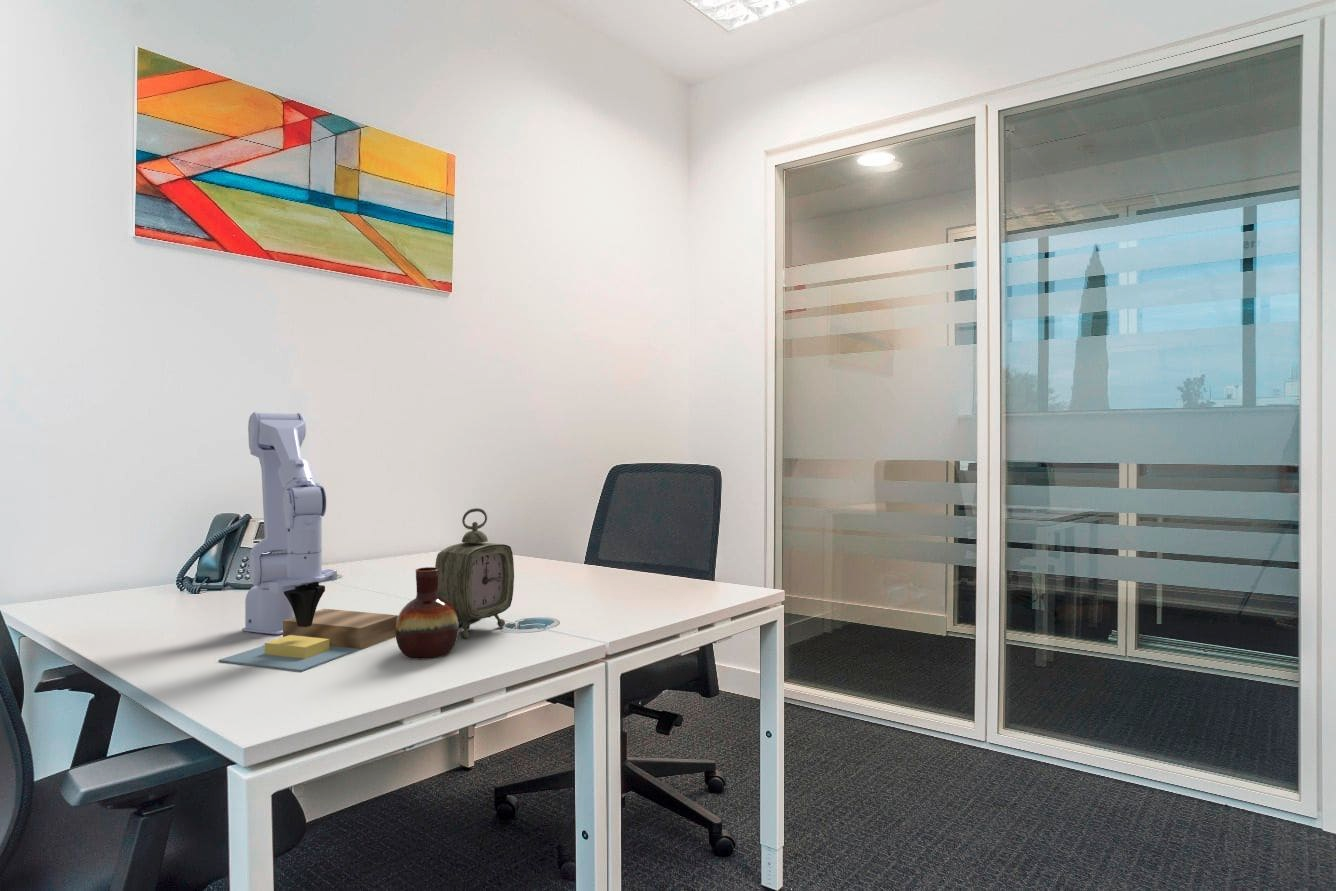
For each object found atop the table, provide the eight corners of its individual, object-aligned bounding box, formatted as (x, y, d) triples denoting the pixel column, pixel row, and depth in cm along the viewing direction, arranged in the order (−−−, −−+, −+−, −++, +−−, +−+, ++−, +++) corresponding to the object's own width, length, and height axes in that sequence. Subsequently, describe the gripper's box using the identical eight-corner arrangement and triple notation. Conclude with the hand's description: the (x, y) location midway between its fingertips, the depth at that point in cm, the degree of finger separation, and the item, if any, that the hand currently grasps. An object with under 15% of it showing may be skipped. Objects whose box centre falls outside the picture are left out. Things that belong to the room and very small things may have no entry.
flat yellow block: (289, 634, 147) (289, 645, 147) (264, 642, 142) (264, 654, 142) (329, 639, 145) (329, 649, 145) (305, 647, 139) (305, 658, 139)
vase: (390, 663, 137) (390, 575, 137) (399, 646, 148) (399, 564, 148) (456, 660, 140) (456, 573, 139) (460, 644, 150) (460, 563, 150)
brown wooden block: (282, 641, 152) (282, 620, 152) (324, 628, 162) (324, 608, 162) (360, 649, 146) (360, 628, 146) (398, 635, 156) (398, 615, 156)
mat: (218, 661, 138) (218, 659, 138) (280, 641, 151) (280, 640, 151) (301, 671, 132) (301, 669, 132) (358, 650, 146) (358, 648, 146)
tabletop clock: (464, 642, 152) (465, 512, 152) (430, 636, 156) (430, 510, 156) (513, 626, 164) (514, 506, 164) (481, 621, 169) (481, 504, 169)
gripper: (292, 558, 136) (291, 637, 137) (350, 547, 150) (349, 618, 150) (259, 556, 139) (259, 633, 139) (319, 546, 152) (319, 616, 153)
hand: (304, 625), depth 145 cm, fingers closed
